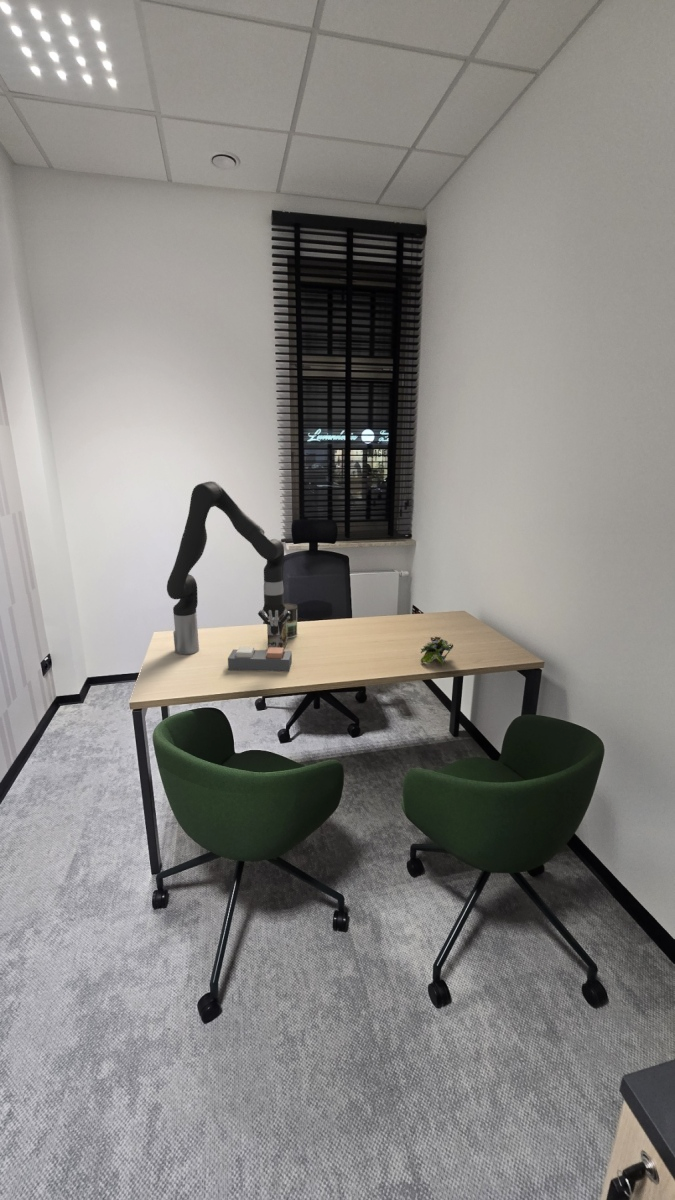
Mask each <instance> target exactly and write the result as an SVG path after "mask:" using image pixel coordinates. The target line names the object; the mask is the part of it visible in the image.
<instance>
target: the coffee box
mask: <svg viewBox="0 0 675 1200" xmlns="http://www.w3.org/2000/svg"><path fill="white" fill-rule="evenodd" d="M266 617H267V618H268V619H269V616H268V615H267V614H266ZM283 617H284V612H283V613H282V614H281V616H280V617H279V621H280V620H281V619H282V618H283ZM269 620H270V619H269ZM274 625H275V617H274ZM266 626H267V631H266V633H267V649H268V648H269V647H281V648H284V649H285V647H286V646H287V645H288V638H287V619H286V620H285V621H284V622H283V624H282V625H278V627H279V631H278V634H277V635H273V633H271V626H270V625H267V624H266Z"/></svg>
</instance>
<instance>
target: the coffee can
mask: <svg viewBox="0 0 675 1200" xmlns="http://www.w3.org/2000/svg"><path fill="white" fill-rule="evenodd" d="M284 606H285V609H286V610H287V611H290V615H289V616H288V618H287V639H293V638H295V637H297V635H298V605H297V604H295V603H289V602H285V603H284Z"/></svg>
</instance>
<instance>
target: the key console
mask: <svg viewBox="0 0 675 1200" xmlns="http://www.w3.org/2000/svg"><path fill="white" fill-rule="evenodd" d="M237 650H238V649H232V651H231V652H230V654H229V656H227V657H228V658H227V668H228V671H248V672H249V671H251V672H253V671H254V672H290V670H291V667H292V664H293V655H292V653H293V651H292V650H284V656H283V659H280V658H267V651H268V649H267V650H266V649H265V650H264V649H254V655H253V657H252V658H238V657H236V652H237Z"/></svg>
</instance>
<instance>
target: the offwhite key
mask: <svg viewBox="0 0 675 1200" xmlns="http://www.w3.org/2000/svg"><path fill="white" fill-rule="evenodd" d="M236 650H237V652H236V657H238V658H252V657H253V655H254V650H255V646H238V648H237V649H236Z"/></svg>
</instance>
